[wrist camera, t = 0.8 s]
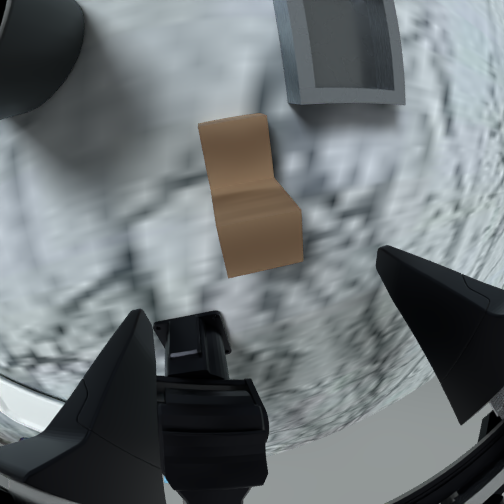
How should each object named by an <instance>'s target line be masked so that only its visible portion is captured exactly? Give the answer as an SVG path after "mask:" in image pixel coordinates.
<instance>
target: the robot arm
mask: <svg viewBox="0 0 504 504" xmlns="http://www.w3.org/2000/svg"><path fill="white" fill-rule="evenodd" d="M376 269H377V271H378V273H379V275H380V277H381V279H382V281H383V283H384V285H385V287H386V289H387V291H388V293H389V295H390V296H391V298H392V300H393V302H394V303H395V305H396V307H397V308H398V310H399V311H400V313H401V315H402V316H403V318H404V319H405V321H406V323H407V324H408V326H409V328H410V329H411V331H412V333H413V334H414V336H415V338H416V340H417V341H418V343H419V345H420V346H421V348H422V350H423V352H424V354H425V355H426V357H427V359H428V361H429V363H430V364H431V366H432V368H433V370H434V372H435V374H436V376H437V378H438V379H439V381H440V383H441V386H442V388H443V390H444V392H445V394H446V396H447V398H448V400H449V402H450V404H451V406H452V408H453V410H454V412H455V415H456V417H457V419H458V421H459V423H460V425H462V424H464V423H465V422H466V421H467V420H469V419H470V418H471V417H473V416H474V415H475V414H476V413H477V412H479V411H480V410H481V409H482V408H483V407H484V406H485V405H486V404H488V403H489V404H490V405H491V407H492V409H493V410H492V411H491V412H490V413H489V414H488V415H487V416H485V417H484V418H483V419H482V424H481V429H480V434H479V439H478V443H477V444H476V445H475V446H474V447H472V448H471V449H470V450H469V451H467V452H466V453H465V454H464V455H462V456H461V457H460V458H458V459H457V460H456V461H454V462H453V463H452V464H450V465H449V466H447V467H446V468H445V469H443V470H442V471H440V472H439V473H437V474H436V475H434V476H433V477H431V478H430V479H428V480H427V481H425V482H423V483H422V484H420V485H418V486H417V487H415V488H413V489H411V490H410V491H408V492H406V493H404V494H402V495H401V496H399V497H397V498H395V499H393V500H391V501H389V502H387V503H385V504H439V503H441V504H504V497H503V496H502V493H503V492H504V290H503V289H500V288H497V287H494V286H492V285H489V284H486V283H483V282H481V281H478V280H476V279H473V278H471V277H468V276H466V275H464V274H462V275H461V273H459V272H456V271H454V270H451V269H449V268H446V267H444V266H441V265H439V264H436V263H434V262H431V261H429V260H426V259H424V258H421V257H418V256H416V255H413V254H411V253H408V252H405V251H403V250H400V249H397V248H394V247H392V246H389V245H386V246H382V247H380V248H379V249H378V251H377V259H376ZM153 329H154V331H155V332H156V334H157V336H158V338H159V339H160V341H161V343H162V344H163V346H164V348H165V376H157V375H156V358H155V349H154V338H153ZM230 353H231V346H230V343H229V340H228V337H227V334H226V331H225V328H224V325H223V322H222V319H221V316H220V313H219V312H218V311H210V312H205V313H200V314H195V315H190V316H185V317H180V318H174V319H169V320H164V321H158V322H155V323H154V325H153V328H152V325H151V323H150V321H149V319H148V318H147V316H146V314H145V312H144V311H143V310H142V309H136V310H132V311H131V312H130V313H129V314H128V316H127V317H126V318H125V320H124V321H123V322H122V324H121V325H120V326H119V328H118V329H117V330H116V332H115V333H114V334H113V336H112V337H111V339H110V340H109V341H108V343H107V344H106V345H105V347H104V348H103V350H102V351H101V352H100V354H99V355H98V357H97V358H96V360H95V361H94V362H93V364H92V365H91V367H90V368H89V370H88V371H87V373H86V374H85V375H84V377H83V378H84V379H82V380H81V381H80V383H79V384H78V386H77V387H76V389H75V390H74V392H73V393H72V394H71V396H70V397H69V399H68V400H67V401H66V403H65V404H64V405H63V407H62V408H61V409H60V410H59V412H58V413H57V414H56V416H55V417H54V418H53V420H52V421H51V422H50V424H49V425H48V426H47V427H46V429H45V430H44V431H43V432H41V433H40V434H38V435H36V436H34V437H31V438H28V439H25V440H22V441H18V442H15V443H11V444H8V445H4V446H0V474H1V475H3V476H5V477H7V478H9V489H7V488H5V487H3V486H0V504H166V500H165V493H164V486H163V478H162V474H163V475H164V476H165V478H166V480H167V481H168V483H169V484H170V486H171V487H172V488H173V489H174V490H176V491H177V492H178V494H179V495H180V496H181V497H182V498H183V504H243V499H244V498H245V496H246V495H247V493H248V492H249V490H250V489H251V488H252V487H254V486H261V485H263V484H264V482H265V480H266V477H267V475H268V469H267V461H266V450H265V443H266V442H267V439H268V435H269V421H268V416H267V412H266V410H265V408H264V405H263V403H262V401H261V399H260V397H259V395H258V393H257V391H256V388H255V386H254V384H253V382H252V380H251V379H244V380H229V374H228V368H227V362H226V356H225V355H226V354H230Z"/></svg>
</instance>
